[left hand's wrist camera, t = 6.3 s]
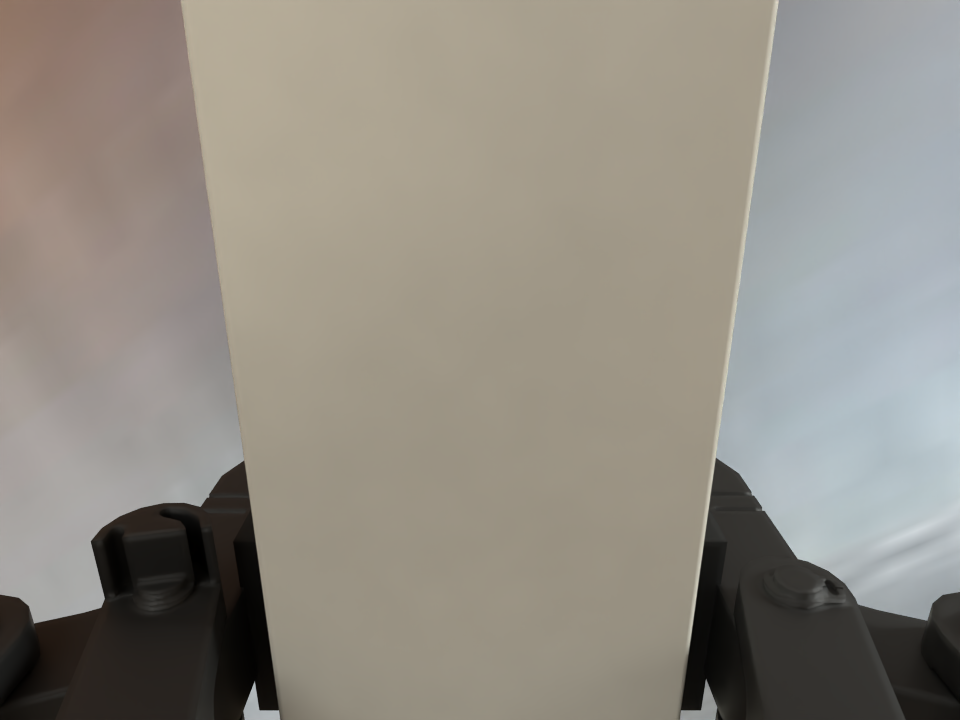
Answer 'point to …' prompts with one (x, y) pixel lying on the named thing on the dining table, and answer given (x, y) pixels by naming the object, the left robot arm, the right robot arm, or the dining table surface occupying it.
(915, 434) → the dining table surface
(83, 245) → the dining table surface
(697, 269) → the bar
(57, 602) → the dining table surface
